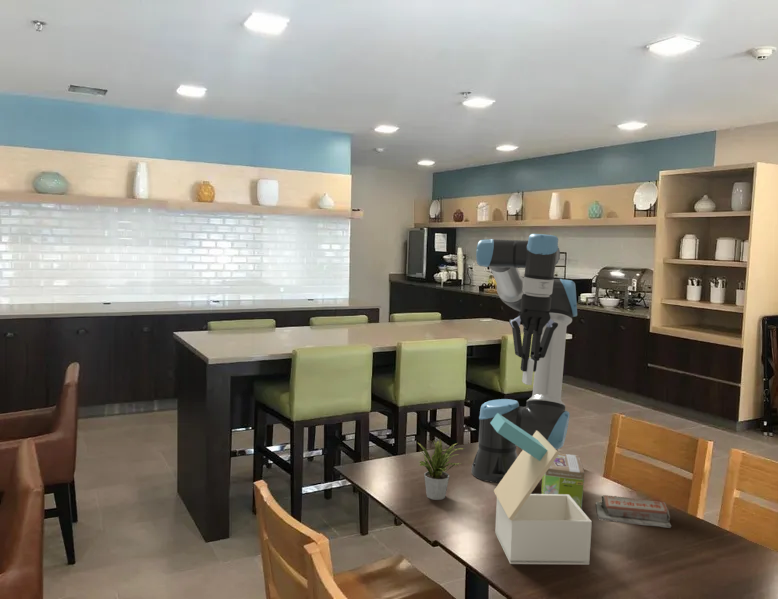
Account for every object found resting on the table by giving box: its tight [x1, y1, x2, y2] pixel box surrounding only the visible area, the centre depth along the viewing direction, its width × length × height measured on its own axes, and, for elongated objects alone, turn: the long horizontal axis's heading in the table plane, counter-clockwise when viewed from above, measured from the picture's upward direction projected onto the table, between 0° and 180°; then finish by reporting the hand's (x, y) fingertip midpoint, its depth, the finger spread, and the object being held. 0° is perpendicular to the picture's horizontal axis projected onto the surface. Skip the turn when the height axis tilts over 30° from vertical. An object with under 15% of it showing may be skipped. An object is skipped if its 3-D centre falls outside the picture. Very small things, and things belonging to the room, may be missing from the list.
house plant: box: [417, 438, 465, 501], centre depth 184 cm, size 14×14×16 cm
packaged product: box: [595, 494, 672, 529], centre depth 176 cm, size 18×5×10 cm
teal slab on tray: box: [490, 413, 560, 520], centre depth 153 cm, size 18×16×13 cm
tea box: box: [540, 453, 585, 510], centre depth 175 cm, size 15×10×15 cm
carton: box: [494, 493, 593, 566], centre depth 155 cm, size 18×16×10 cm
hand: (526, 383), depth 172 cm, fingers closed
